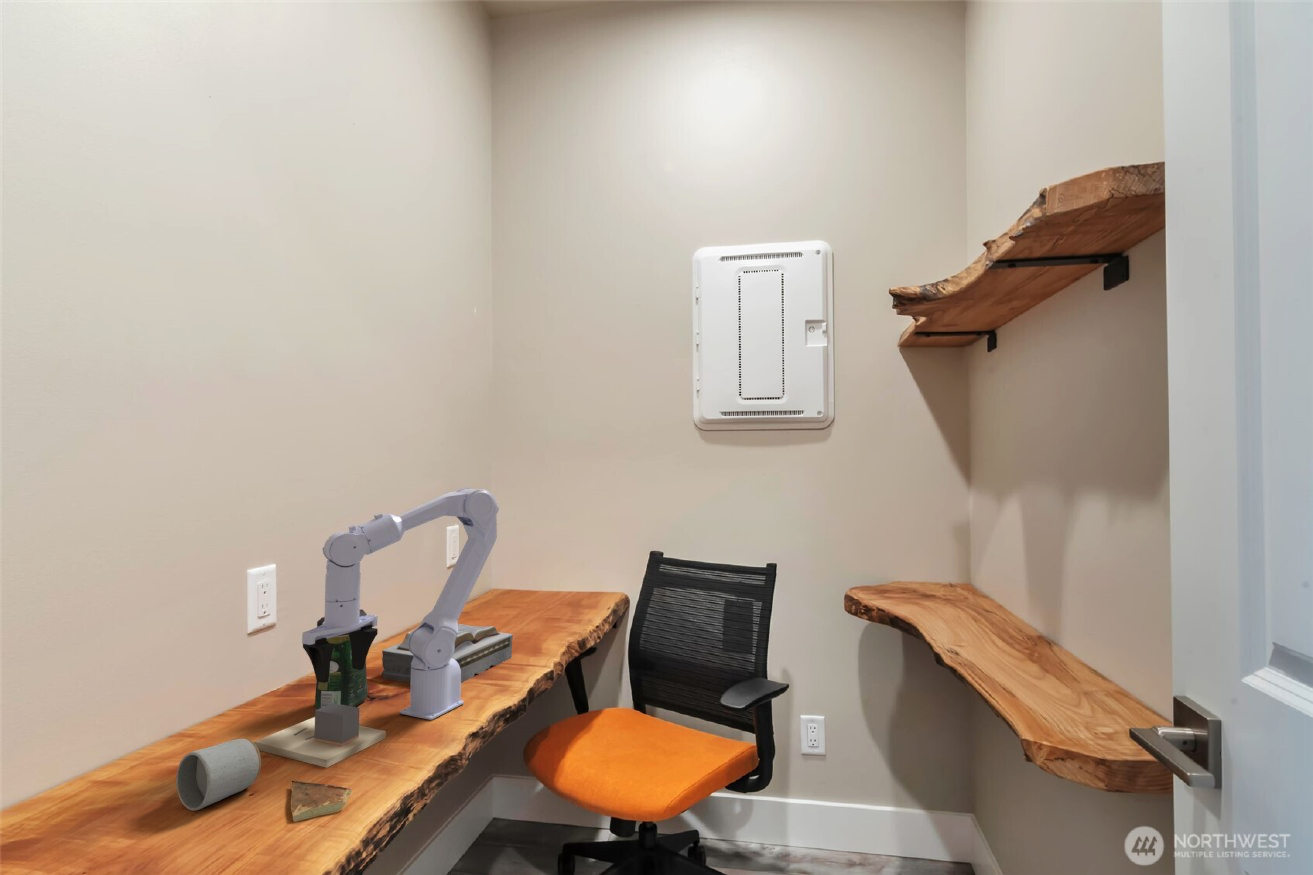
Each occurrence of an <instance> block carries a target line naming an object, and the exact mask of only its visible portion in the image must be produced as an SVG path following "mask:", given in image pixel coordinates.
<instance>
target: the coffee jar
mask: <svg viewBox="0 0 1313 875" xmlns="http://www.w3.org/2000/svg"><path fill="white" fill-rule="evenodd" d="M366 615H368V614H367V613H366V611H364V609H361V608H360V614H359V617H361V616H366ZM324 619H325V616H323V617H321V618H320V619H318V620H317V621H316V627H318V626H321V625H322V623H323V622H324ZM327 641H328V643H332V644H335V647H334V649H333V653H332V656H331V661H330V674H329V680H328V682H326V683H322V682H317V681H316V683H315V684H316V685H315V693H314V694H315V696H314V708H315V710H318V709H320V708H322V707H325V706H327V705H329V704H332V703H334V704H340V705H346V706H352V707H356V706H358V705H360V704H362V703H364V701H366V699H367V698H368V678H367V677H368V675H367V660H366V661H365V664H364V668H363V669H362V670H357V669H353V668H352V651H351V643H350V638H349V635H348V633H346V634H342V635H339V636H335V637H332V638H328V639H327Z"/></svg>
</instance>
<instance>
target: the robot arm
mask: <svg viewBox="0 0 1313 875" xmlns="http://www.w3.org/2000/svg"><path fill="white" fill-rule="evenodd" d="M499 510H500V507H499V506H498V503H497V500H496V499H495V497H494V495H493V494H492V493H491V492H490V491H488V490H487V489H481V488H479V489H471V488H470V487H463V488H460V489H458V490H456V491H451V492H447V493H445V494H441V495H440V496H437V497H436V498H434V499H431V500H429V501H427V502H425V503H423V504H421V505H419V506H416V507H414V508H411V509H410V510H408V511H406V512H403V513H401V514H399V515H395V514H392V513H388V512H387V513H385V514H383V512H382V513H381V512H379V513H377V514H374V515H373V517H374V518H373V519H371V520H369V521H366V522H363V523H361V524H359V525H355V524H352V525H350V526H348V532H347V531H338V532H334V533H333V534H331V535H330V536H329V537H328V539H326V541H325V542H324V546H323V547H322V554H323V556H324V558H326V559H327V560H326V566H325V567H326V568H325V569H326V574H325V585H324V588H325V590H324V591H325V592H324V617H325V619H324V622H323V623H322V625H321V626H318V627H317V626H316V627H314V628H311V629H309V630H306V631H303V632H302V634H301V635H302V637H301V638H302V639H301V641H302V642H301V643H302V648H303V650H304V651H305V652H306V654H307V656H308V658H309V660H310V662H311V665H312V668H313V670H314V675H315V680H316V683H317V682H322V683H326V682H328V680H329V674H330V661H331V656H332V653H333V649H334V647H335V644H332V643H328V641H327V639H328V638H332V637H335V636H339V635H342V634H346V633H348V635H349V638H350V643H351V651H352V668H353V669H357V670H362V669H363V668H364V664H365V661H366V662H367V657H368V654H369V652H370V649H371V646H372V644H373V642H374V640H375V639H376V637H377V635H378V632H379V630H378V628H377V626H378V614H377V615H376V614H375V615H374V614H367V615H366V616H361V617H359V614H360V609H361V608H360V606H361V603H360V602H361V561H362V560H363V559H364V557H365V555H366V556H368V555H370V554H373V553H376V552H378V551H380V550H383V549H385V548H386V547H387V548H388V547H389V546H391V545H392V544H395V543H397V542H400V541H401V540H402V538H403V535H405V534H404V533H405V532H406V531H409V530H411V529H413V528H417V527H419V526H421V525H424V524H427V523H429V522H431V521H434V520H437V519H439V518H441V517H444V516H447V517H456V518H457V519H458V520H459V521H460V522H461V524H462V526H463V528H464V530H465V532H466V535H467V540H466V541H465V543H464V546H463V548H462V550H461V552H460V553H459V556H458V557H457V561H455V564H454V566H453V568H452V570H451V572H450V574H449V576H448V578H447V580H446V582H445V584H444V586H443V588H442V591H441V593H440V594H439V597H438V599H437V600H436V603H435V604H434V606H433V608H432V610H431V611H429V612H428V613H427V614H426V615H425V616H424V617H423V619H422V620H421V622H420V624H419V625H418V626H417V627H416V628H415V629H413V630H414V631H413V630H412V631H413V632H412V633H411V634H410V636H409V639H408V648H409V650H410V652H411V653H412V654H413V655H414V657H413V660H412V662H411V682H410V687H409V688H410V693H409V695H410V698H409V703H410V704H409V706H408V707H405V708H402V709H400V711H399V714H400V715H406V716H408V717H415V718H420V719H425V720H429V721H431V720H434V719H436V718H438V717H439V716H440V717H441V716H442V715H444V714H446V713H449V711H451V710H453V709H456V708H457V707H460V706H462V705H464V704H465V701H464V700H462V699H461V697H462V696H461V695H462V694H461V693H462V692H461V690H462V683H461V669H460V666H459V664H458V662H457V661H456V660H454V659H453V658H452V656H453V654H454V649H455V639H456V637H457V635H458V624H459V623H458V620H459V618H460V617H461V614H462V612H463V610H464V608H465V605H466V604H467V602H468V600H469V597H470V595H471V593H472V591H473V589H474V587H475V585H476V582H477V581H478V579H479V577H480V574H481V572H482V570H483V568H484V566H485V563H486V562H487V560H488V557H489V556H490V553H491V551H492V550H493V547H494V545H495V543H496V540H497V539H498V538H497V537H498V534H497V533H498V532H497V531H498V529H497V526H498V524H497V521H498V520H497V517H498V516H497V515H498V513H499Z"/></svg>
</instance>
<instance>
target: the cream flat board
mask: <svg viewBox="0 0 1313 875" xmlns="http://www.w3.org/2000/svg"><path fill="white" fill-rule="evenodd" d="M314 732H315V716H314V717H313V716H312V717H311V718H309V719H306V720H304V721H301V722H299V723H297V724H294V725H292V726H288V727H287V728H283V729H282V730H279V731H276V732H274V733H271V734H270V735H266V736H265V737H264V736H263V737H262V738H260V739H256V740H255V741H254V740H253V742H254V743H255V745H256V746H257V748H258V750H259V752H260V751H261V752H264V753H268V754H272V755H275V756H280V757H284V758H287V759H291V760H296V761H298V762H299V761H300V762H303V763H307V764H311V765H314V766H318V767H322V768H329V767H331V766H333V765H334V764H337V763H339V762H341V761H342V760H346V759H347V758H349V757H351V756H353V755H355V754H357V753H359V752H361V751H363V750H365V749H367V748H369V747H371V746H373V745H375V744H378V743H379V742H382V741H383V740H385V739H386V738H387V737H386V736H387V731H386V730H383V729H377V728H372V727H368V726H363V725H360V724H359V738H357V739H355V740H353V741H351V742H349V743H347V744H345V745H343V746H339V745H334V744H329V743H324V742H319V741H314Z"/></svg>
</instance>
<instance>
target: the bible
mask: <svg viewBox="0 0 1313 875" xmlns="http://www.w3.org/2000/svg"><path fill="white" fill-rule="evenodd" d="M414 630H415V629H413V630H409V631H408V632H407V633H406V635H405V637H404V638H403V640H402V642H401V643H400V642H399V643H398V644H397V643H396V644H394V645H392V646H390V647H389V646H388V647H387V648H385V649H382V651H381V653H382V657H381V663H382V668H383V669H382V670H383V671H382V673H381V676H382V678H384V679H386V680H392V681H399V682H404V681H405V682H406V683H411V662H412V660H413V657H414V655H413V654H412V653H411V652H410V650H409V648H408V639H409V636H410V634H411V633H412V632H413V631H414ZM513 637H514V634H513V633H507V632H500V631H498V630H497V628H496V627H495V626H494V625H491V626H477V625H476V626H475V625H467V624H462V623H458V635H457V637H456V639H455V649H454V654H453V656H452V658H453V659H454V660H456V661H457V662H458V664H459V666H460V669H461V684H462V683H464V682H465V681H468V680H469V679H473V678H474V677H475V674H477V675H480V674H482V673H484V672H486V670H489V669H490V667H491V666H494V667H495V666H497V664H498V665H499V664H502V663H504V662H506V661H508V660H511V659H512V658H511V657H513ZM505 660H506V661H505ZM503 661H504V662H503Z"/></svg>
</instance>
